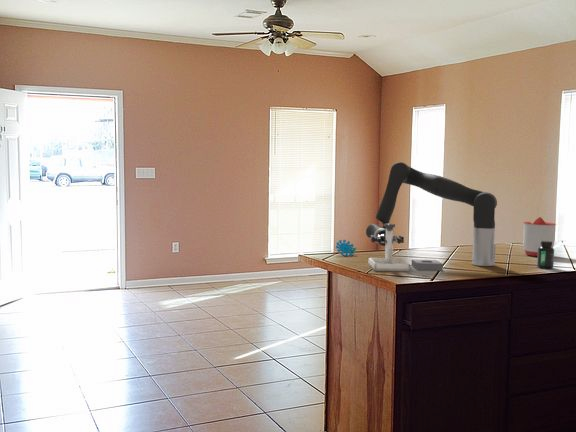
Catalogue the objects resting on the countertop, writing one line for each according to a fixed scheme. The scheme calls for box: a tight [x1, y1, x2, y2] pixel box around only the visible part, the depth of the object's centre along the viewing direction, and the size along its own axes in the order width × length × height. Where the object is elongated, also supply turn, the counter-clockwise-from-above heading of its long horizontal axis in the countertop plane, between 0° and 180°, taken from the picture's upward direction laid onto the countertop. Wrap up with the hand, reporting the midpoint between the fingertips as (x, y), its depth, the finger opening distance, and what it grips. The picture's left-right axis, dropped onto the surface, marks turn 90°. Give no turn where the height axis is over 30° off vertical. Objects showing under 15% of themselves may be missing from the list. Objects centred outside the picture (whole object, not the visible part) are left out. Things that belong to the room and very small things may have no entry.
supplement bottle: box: [536, 241, 555, 270], centre depth 279 cm, size 7×7×12 cm
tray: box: [367, 257, 411, 272], centre depth 270 cm, size 15×17×3 cm
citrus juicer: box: [522, 216, 557, 257], centre depth 319 cm, size 16×17×20 cm
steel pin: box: [384, 223, 396, 264], centre depth 270 cm, size 5×5×18 cm
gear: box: [335, 239, 358, 257], centre depth 306 cm, size 11×6×10 cm
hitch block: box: [410, 258, 444, 272], centre depth 271 cm, size 11×11×3 cm
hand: (390, 241), depth 268 cm, fingers open, 8 cm apart
